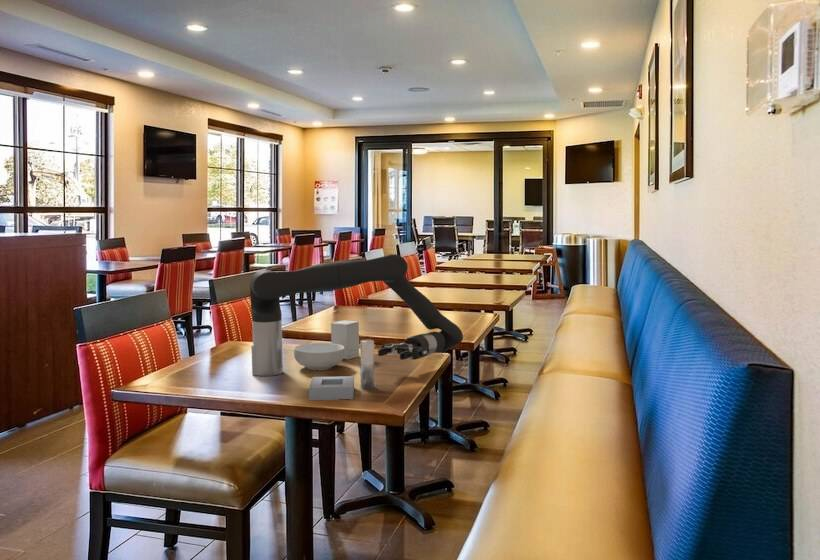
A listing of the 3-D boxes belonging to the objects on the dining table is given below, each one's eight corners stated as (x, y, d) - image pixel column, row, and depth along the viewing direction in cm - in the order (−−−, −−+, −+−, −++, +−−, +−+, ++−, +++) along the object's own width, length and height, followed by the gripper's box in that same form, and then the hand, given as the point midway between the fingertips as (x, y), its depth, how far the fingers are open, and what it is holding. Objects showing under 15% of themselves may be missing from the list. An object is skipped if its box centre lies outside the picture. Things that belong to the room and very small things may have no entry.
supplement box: (360, 356, 234) (359, 321, 233) (347, 360, 228) (346, 324, 227) (343, 353, 238) (343, 319, 237) (330, 357, 232) (330, 322, 231)
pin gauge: (360, 389, 190) (360, 342, 188) (360, 385, 194) (360, 339, 192) (374, 389, 190) (374, 342, 189) (374, 385, 194) (373, 339, 193)
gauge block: (309, 400, 179) (308, 387, 179) (312, 388, 191) (312, 376, 191) (352, 399, 180) (352, 387, 179) (353, 387, 192) (353, 376, 191)
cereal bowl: (349, 372, 211) (348, 350, 210) (297, 375, 206) (297, 353, 206) (339, 360, 227) (339, 340, 226) (291, 363, 223) (291, 343, 222)
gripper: (403, 332, 216) (371, 339, 203) (438, 337, 208) (408, 345, 195) (403, 354, 217) (372, 363, 204) (438, 360, 209) (408, 369, 196)
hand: (389, 354), depth 200 cm, fingers open, 8 cm apart
